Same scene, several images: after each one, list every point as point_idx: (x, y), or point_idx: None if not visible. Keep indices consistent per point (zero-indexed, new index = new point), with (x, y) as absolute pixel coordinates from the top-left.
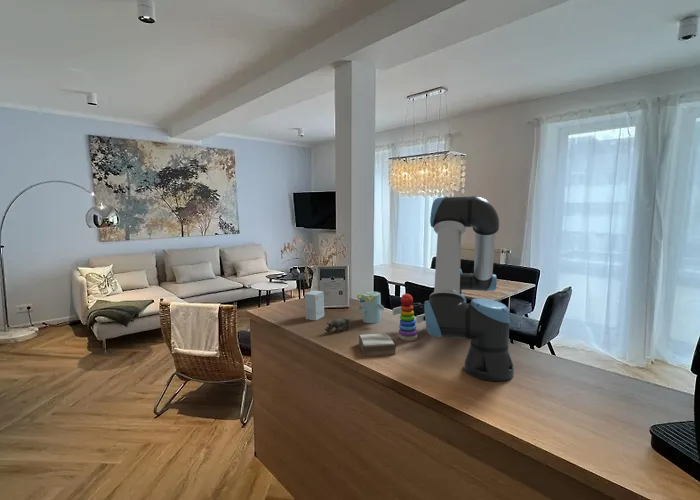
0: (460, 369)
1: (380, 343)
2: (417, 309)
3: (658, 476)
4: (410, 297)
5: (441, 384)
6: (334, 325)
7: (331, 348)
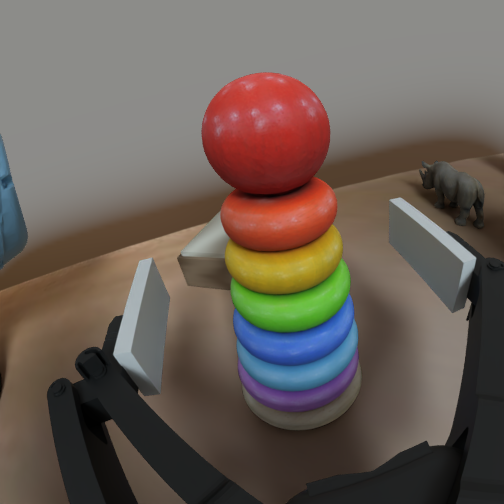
0: (8, 367)
1: (210, 227)
2: (460, 414)
3: None
4: (206, 111)
5: (30, 303)
6: (433, 177)
7: None
